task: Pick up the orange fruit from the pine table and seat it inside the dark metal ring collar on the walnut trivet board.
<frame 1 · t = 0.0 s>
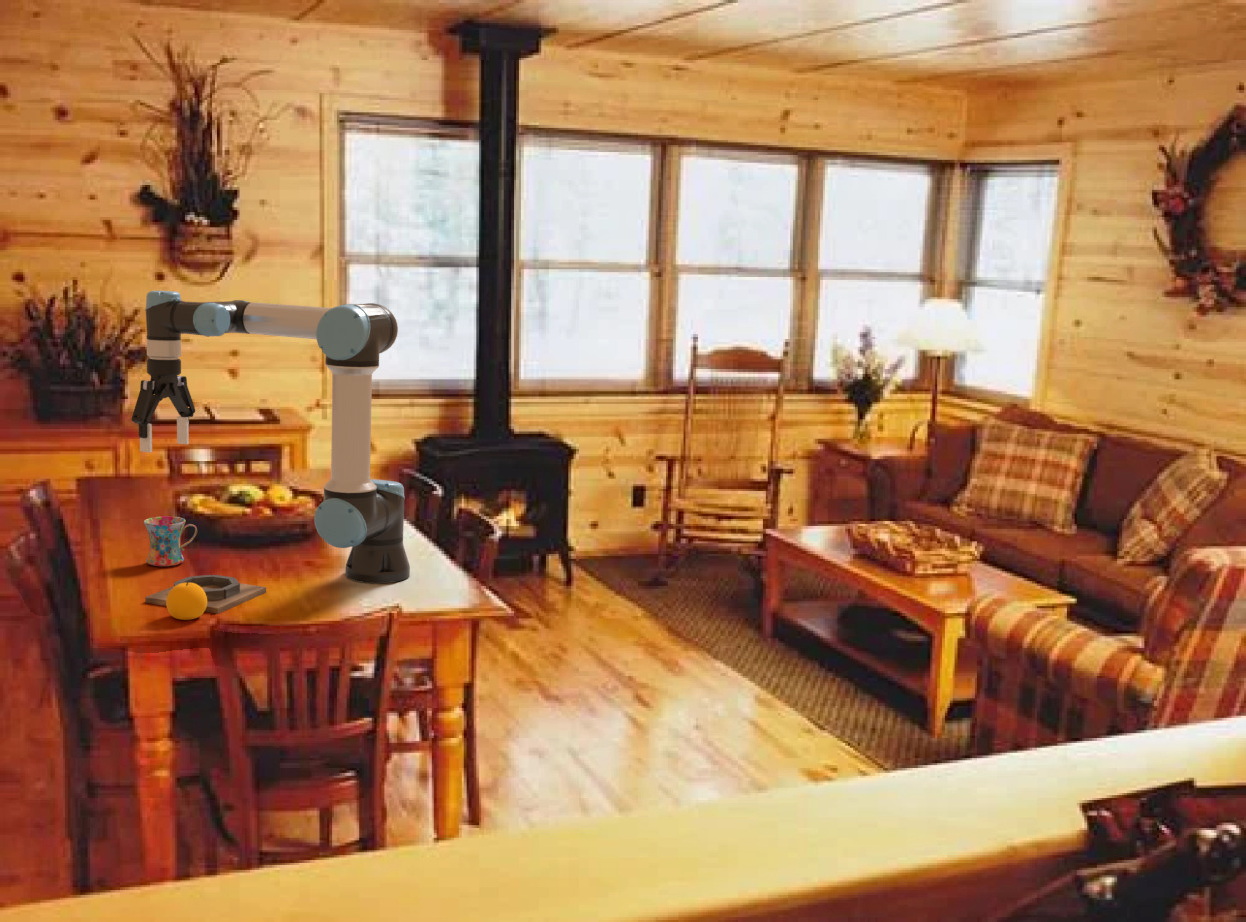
hand: (164, 447, 291), 28 cm above the table, fingers open, 13 cm apart
ring board: (207, 597, 271), on the table
orange fruit: (186, 618, 256), on the table
mug: (171, 564, 296), on the table
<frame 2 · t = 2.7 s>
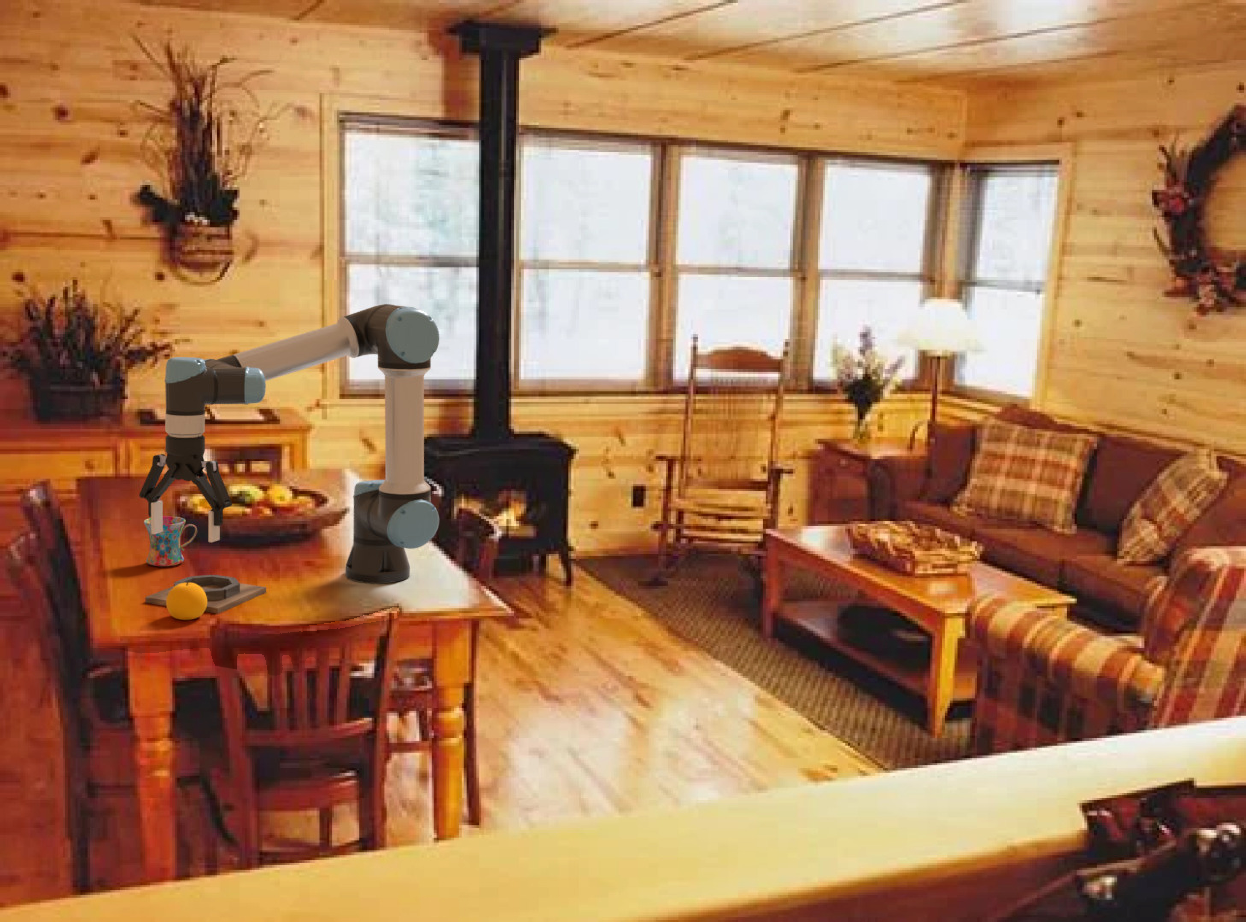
hand: (185, 537, 253), 17 cm above the table, fingers open, 13 cm apart
nothing on the table moved.
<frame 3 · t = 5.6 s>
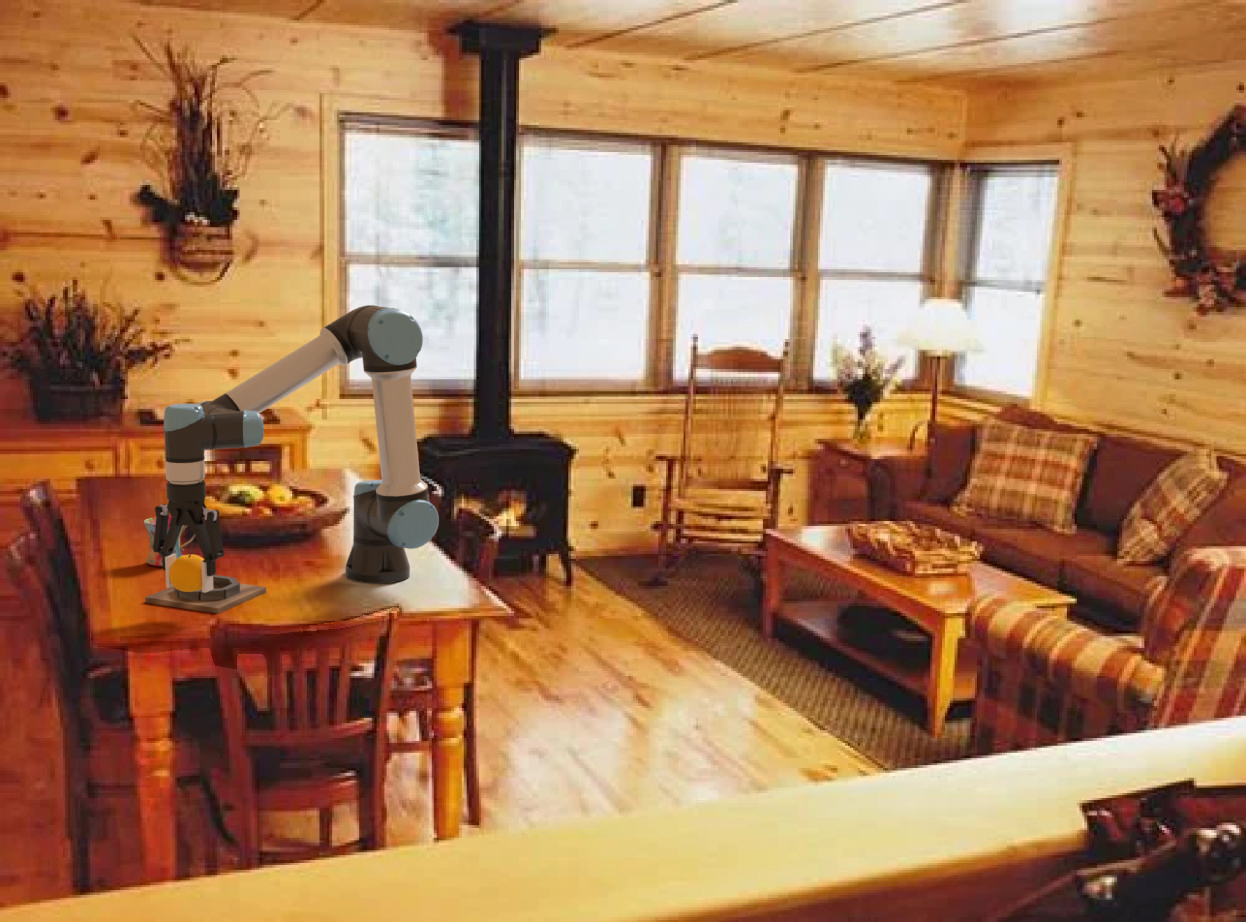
hand: (189, 588, 255), 6 cm above the table, fingers closed on orange fruit, 8 cm apart
orange fruit: (190, 590, 256), point 6 cm above the table, touching gripper
everything else where it was.
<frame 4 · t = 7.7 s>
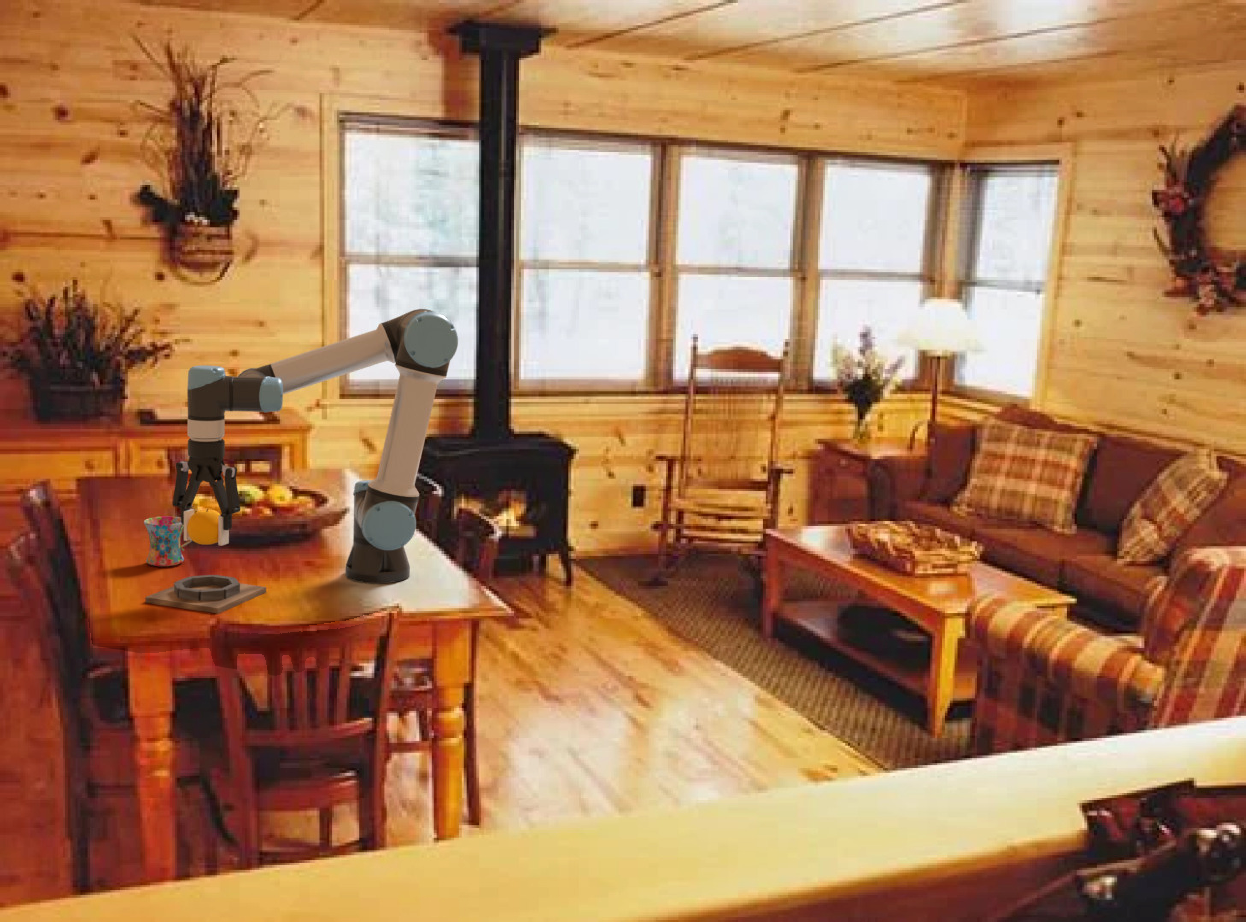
hand: (206, 541, 269), 13 cm above the table, fingers closed on orange fruit, 8 cm apart
orange fruit: (206, 543, 269), point 12 cm above the table, touching gripper
everything else where it was.
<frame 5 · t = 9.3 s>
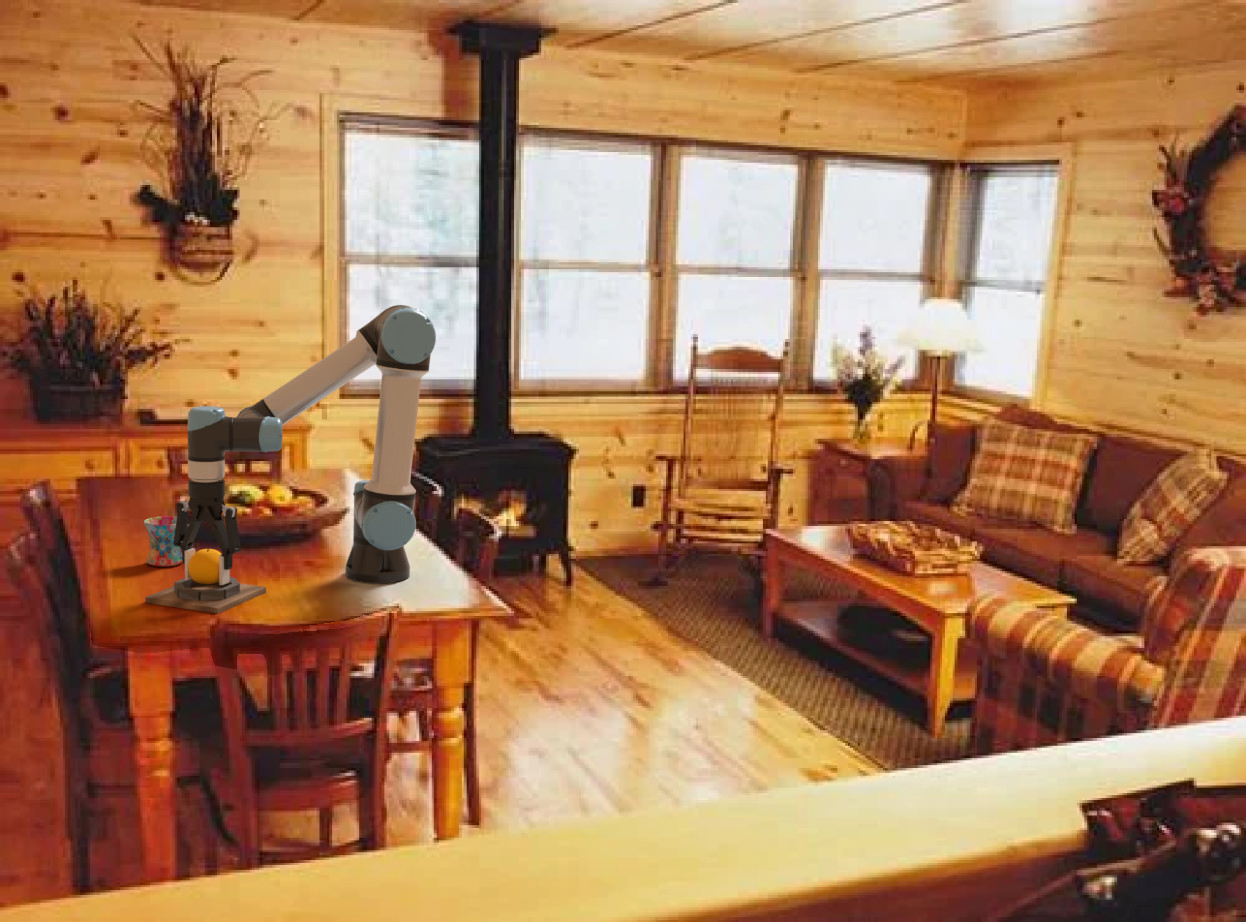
hand: (207, 580, 270), 4 cm above the table, fingers closed on orange fruit, 8 cm apart
orange fruit: (207, 582, 270), point 3 cm above the table, touching gripper
everything else where it was.
when the fingers open (4 cm above the table, at t = 10.0 s): orange fruit drops 2 cm, resting on ring board.
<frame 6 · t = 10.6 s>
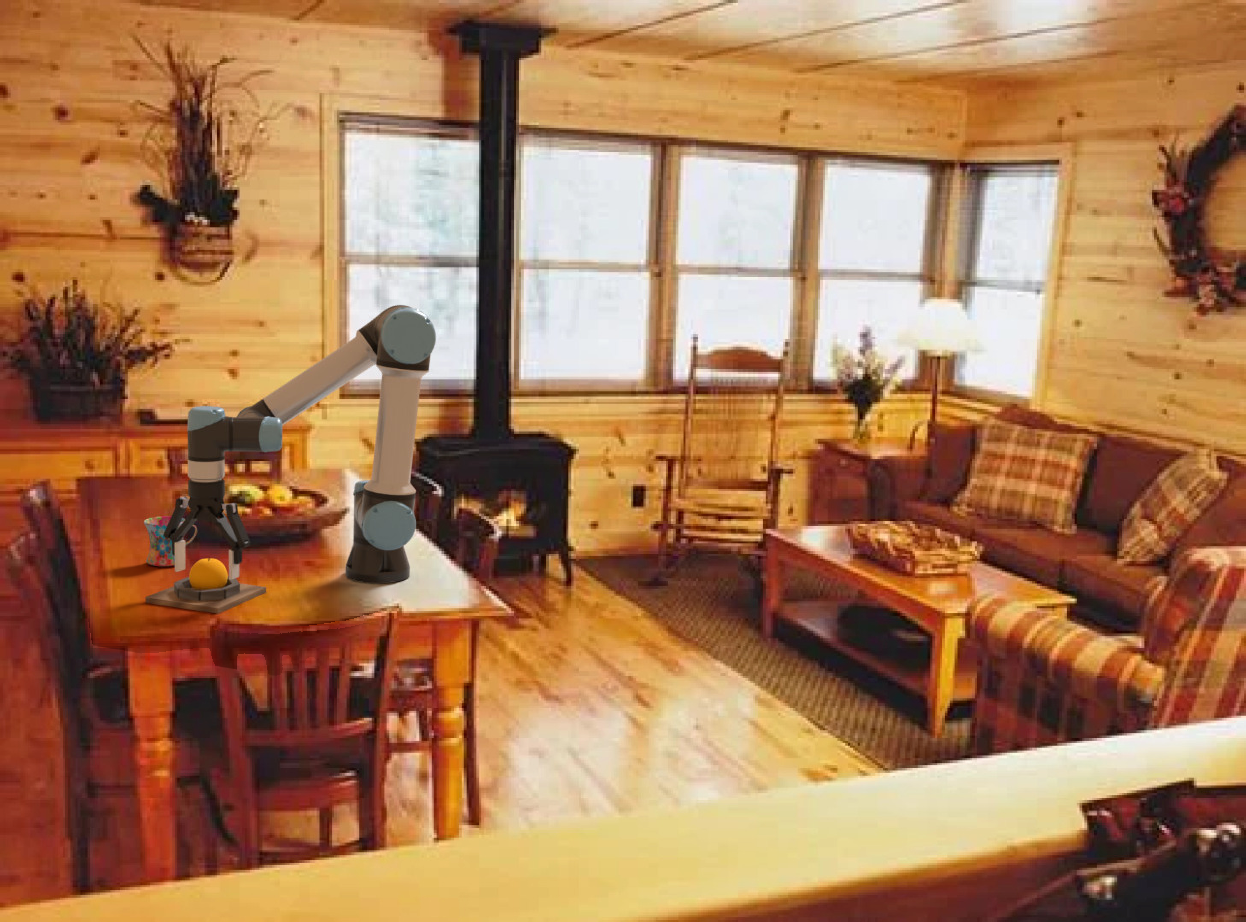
hand: (206, 574, 270), 5 cm above the table, fingers open, 13 cm apart
orange fruit: (208, 592, 271), point 1 cm above the table, touching ring board
everything else where it was.
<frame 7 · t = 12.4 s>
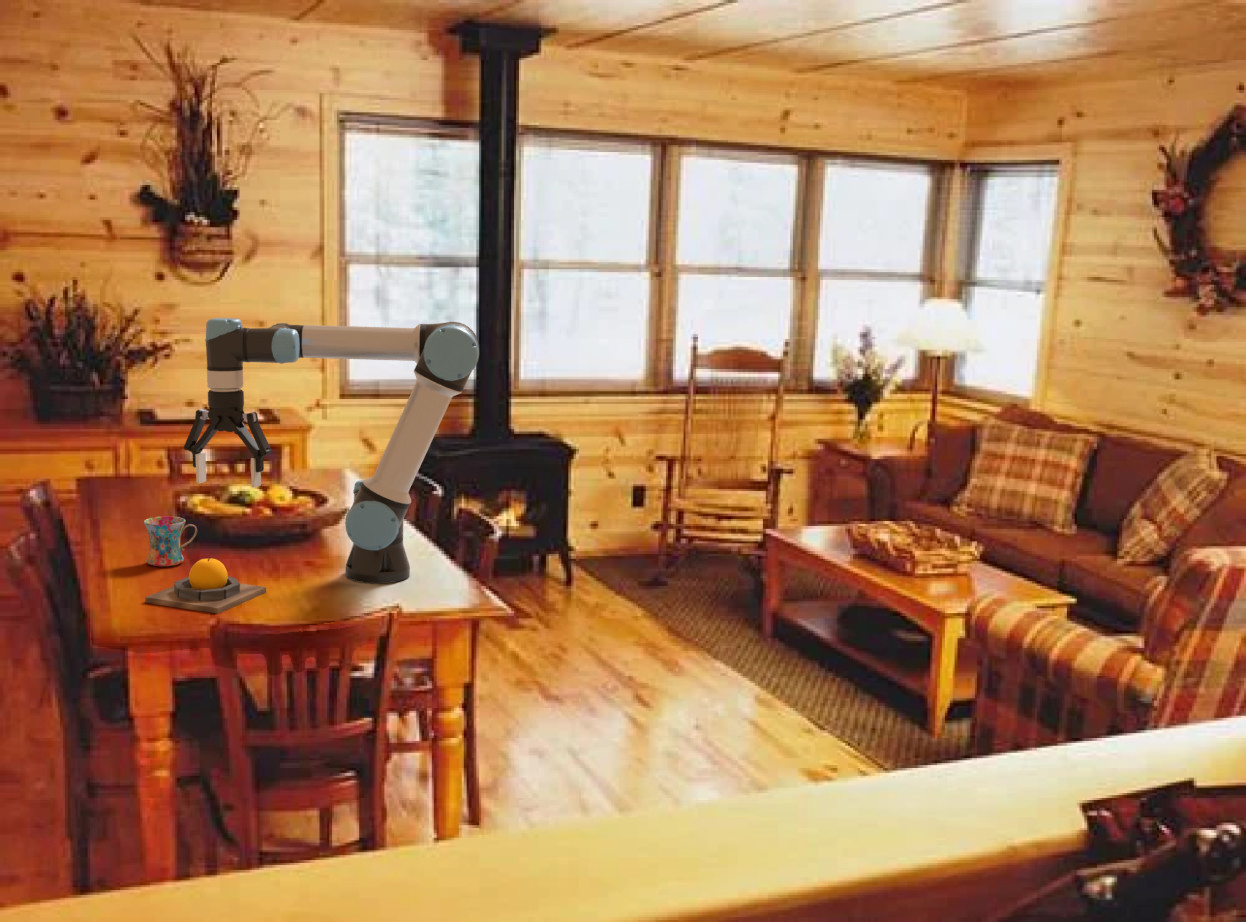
hand: (228, 484, 275), 24 cm above the table, fingers open, 13 cm apart
nothing on the table moved.
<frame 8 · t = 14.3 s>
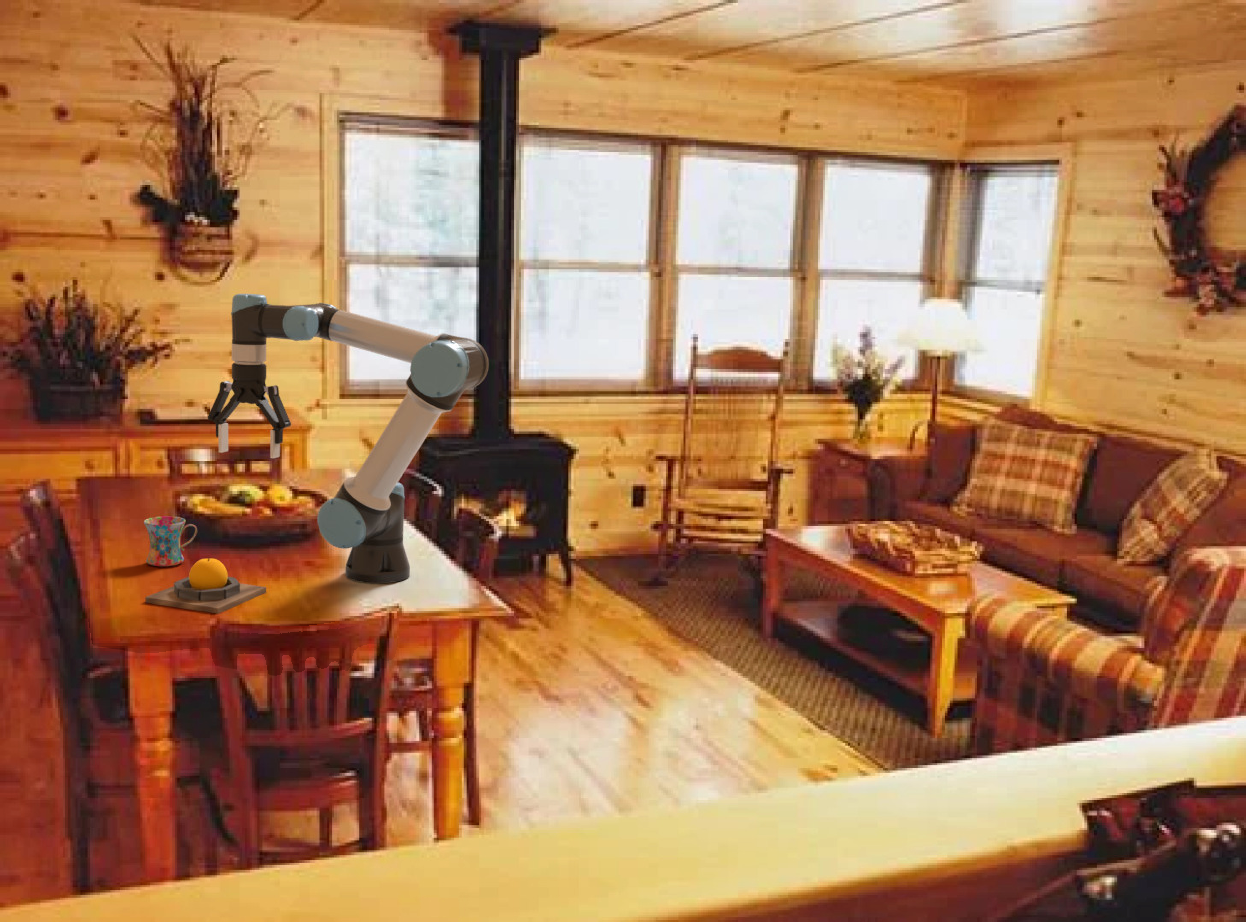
hand: (249, 454, 284), 29 cm above the table, fingers open, 13 cm apart
nothing on the table moved.
at the end: orange fruit 0.3 cm from the ring board (horizontally); orange fruit point 1.0 cm above the table; the gripper is holding nothing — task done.
